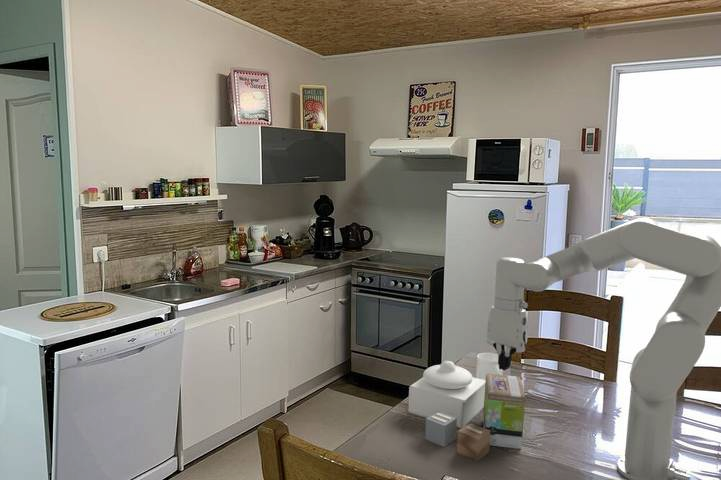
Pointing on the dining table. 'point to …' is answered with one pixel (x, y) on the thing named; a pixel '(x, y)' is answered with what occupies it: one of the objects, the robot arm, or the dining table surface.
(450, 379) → the butter dish
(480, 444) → the walnut marked block
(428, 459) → the dining table surface
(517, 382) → the tea box
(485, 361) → the mug
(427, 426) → the slate marked block
